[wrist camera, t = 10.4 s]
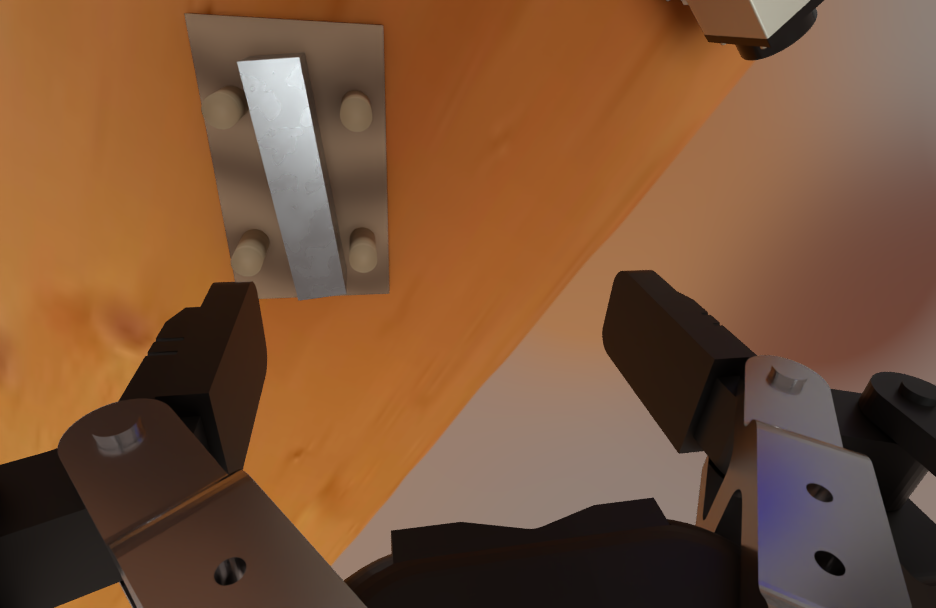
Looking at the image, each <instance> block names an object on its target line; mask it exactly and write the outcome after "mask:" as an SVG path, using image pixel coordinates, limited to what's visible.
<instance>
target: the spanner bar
mask: <svg viewBox="0 0 936 608" xmlns="http://www.w3.org/2000/svg"><path fill="white" fill-rule="evenodd" d="M237 64H238V68H239V72H240V76H241V80H242V83H243V87H244V91H245V95H246V99H247V103H248V107H249V111H250V114H251V118H252V122H253V126H254V130H255V134H256V138H257V142H258V146H259V149H260V153H261V157H262V161H263V165H264V169H265V173H266V177H267V180H268V184H269V188H270V192H271V196H272V200H273V204H274V208H275V211H276V215H277V219H278V223H279V227H280V231H281V235H282V239H283V243H284V246H285V250H286V254H287V258H288V262H289V266H290V270H291V274H292V277H293V281H294V285H295V289H296V293H297V297H298V300H306V299H313V298H321V297H328V296H335V295H343V294H346V292H347V267H346V262H345V257H344V252H343V247H342V242H341V236H340V231H339V226H338V221H337V216H336V211H335V206H334V200H333V195H332V190H331V185H330V180H329V175H328V169H327V164H326V159H325V154H324V149H323V144H322V139H321V133H320V128H319V123H318V118H317V113H316V108H315V102H314V97H313V92H312V87H311V82H310V77H309V71H308V66H307V61H306V56H305V52H303V53H289V54H275V55H261V56H249V57H246V58H244V59H242V60H240V61H237Z"/></svg>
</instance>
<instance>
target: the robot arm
mask: <svg viewBox="0 0 936 608" xmlns="http://www.w3.org/2000/svg"><path fill="white" fill-rule="evenodd" d="M602 335H603V336H602V337H603V344H604V348H605V350H606V352H607V354H608V355H609V357H610V358H611V360H612V361H613V362H614V364H615V365H616V367H617V368H618V369H619V371H620V372H621V374H622V375H623V376H624V378H625V379H626V381H627V382H628V383H629V385H630V386H631V388H632V389H633V390H634V392H635V393H636V395H637V396H638V397H639V399H640V400H641V402H642V403H643V404H644V406H645V407H646V408H647V410H648V411H649V413H650V414H651V415H652V417H653V418H654V420H655V421H656V422H657V424H658V425H659V427H660V428H661V429H662V431H663V432H664V434H665V435H666V436H667V438H668V439H669V440H670V442H671V443H672V445H673V446H674V447H675V449H676V450H677V452H678V453H689V452H699V451H705V453H706V454H707V457H706V460H705V463H704V465H703V467H702V473H701V482H700V490H699V499H698V507H697V516H696V525H692V524H688V523H683V522H679V521H675V520H669V519H666V518H665V516H664V514H663V513H662V511H661V509H660V507H659V506H658V504H657V502H656V501H655V499H654V498H647V499H639V500H631V501H623V502H615V503H607V504H601V505H600V504H599V505H593V506H591V507H589V508H586V509H584V510H581V511H579V512H576V513H574V514H571V515H569V516H567V517H564V518H562V519H560V520H557V521H555V522H552V523H550V524H547V525H545V526H543V527H540V528H536V529H523V528H513V527H504V526H495V525H485V524H476V523H466V522H456V523H449V524H441V525H433V526H425V527H417V528H409V529H402V530H393V531H391V551H392V554H390V555H387V556H385V557H382V558H380V559H378V560H376V561H374V562H372V563H370V564H369V565H367V566H365V567H363V568H361V569H360V570H358V571H357V572H355V573H354V574H352V575H351V576H350V577H348V578H347V579H345V580H344V581H343V580H342V579H341V578H340V577H339V575H338V574H337V573H336V572H335V571H334V570H333V569H332V567H331V566H330V565H329V564H328V563H327V562H326V561H325V560H324V558H323V557H322V556H321V555H320V554H319V553H318V552H317V551H316V550H315V548H314V547H313V546H312V545H311V544H310V543H309V542H308V541H307V539H306V538H305V537H304V536H303V535H302V534H301V533H300V532H299V530H298V529H297V528H296V527H295V526H294V525H293V524H292V523H291V522H290V520H289V519H288V518H287V517H286V516H285V515H284V514H283V513H282V511H281V510H280V509H279V508H278V507H277V506H276V505H275V504H274V502H273V501H272V500H271V499H270V498H269V497H268V496H267V495H266V494H265V492H264V491H263V490H262V489H261V488H260V487H259V486H258V485H257V483H256V482H255V481H254V480H253V479H252V478H251V477H250V476H249V475H248V474H247V473H246V472H245V471H243V466H244V462H245V458H246V454H247V450H248V446H249V442H250V437H251V433H252V429H253V425H254V421H255V417H256V413H257V409H258V404H259V400H260V396H261V392H262V388H263V384H264V380H265V376H266V370H267V348H266V341H265V335H264V329H263V323H262V317H261V311H260V305H259V299H258V293H257V289H256V285H255V283H254V282H253V281H250V282H217V283H213V284H212V285H211V287H210V289H209V291H208V293H207V295H206V297H205V299H204V301H203V303H202V305H201V307H189V308H184V309H183V310H182V311H180V312H179V313H178V314H176V315H175V316H173V317H172V318H171V319H169V320H168V321H167V322H166V323H165V324H164V326H163V328H162V329H161V331H160V333H159V334H158V336H157V338H156V342H154V343H153V344H152V346H151V348H150V349H149V351H148V356H145V358H144V359H143V361H142V363H141V364H140V366H139V368H138V369H137V371H136V373H135V374H134V376H133V378H132V379H131V381H130V383H129V384H128V386H127V388H126V390H125V391H124V393H123V395H122V396H121V398H120V400H119V401H118V402H115V403H111V404H109V405H106V406H103V407H101V408H99V409H96V410H94V411H92V412H90V413H89V414H87V415H85V416H83V417H82V418H81V419H79V420H78V421H76V422H75V423H74V424H73V425H72V426H71V427H69V429H68V430H67V431H66V432H65V433H64V434H63V436H62V438H61V439H60V441H59V444H58V448H57V449H54V450H51V451H48V452H45V453H41V454H38V455H34V456H30V457H27V458H23V459H20V460H16V461H12V462H9V463H5V464H2V465H0V608H54V607H57V606H59V605H62V604H64V603H67V602H69V601H72V600H74V599H77V598H80V597H82V596H85V595H87V594H90V593H92V592H95V591H97V590H100V589H102V588H105V587H107V586H110V585H112V584H115V583H117V582H119V584H120V585H121V587H122V589H123V591H124V593H125V595H126V597H127V599H128V601H129V603H130V604H131V606H132V608H936V524H935V523H934V522H933V521H932V520H931V519H930V518H929V517H928V516H927V515H926V514H924V513H923V512H922V511H921V510H920V509H919V508H918V507H917V506H916V505H915V504H914V503H913V502H912V501H911V500H910V499H909V496H910V495H911V493H912V492H913V491H914V489H915V488H916V487H917V485H918V484H919V483H920V481H921V480H922V479H923V477H924V476H925V475H926V473H927V472H928V471H930V472H931V473H932V474H933V475H934V476H936V386H935V385H933V384H931V383H929V382H926V381H924V380H922V379H919V378H916V377H913V376H909V375H906V374H901V373H895V372H880V373H876V374H875V375H873V376H872V378H871V379H870V381H869V383H868V384H867V386H866V388H865V390H864V391H863V393H856V392H849V391H842V390H835V389H830V387H829V385H828V384H827V382H826V381H825V380H824V379H823V378H822V377H821V376H820V375H818V374H817V373H816V372H814V371H813V370H811V369H809V368H807V367H806V366H804V365H802V364H800V363H797V362H795V361H792V360H789V359H786V358H781V357H778V356H770V355H759V356H757V355H756V354H755V353H754V352H752V351H751V350H750V349H749V348H748V347H747V346H745V345H744V344H743V343H742V342H741V341H740V340H739V339H738V338H736V337H735V336H734V335H733V334H732V333H731V332H730V331H728V330H727V329H726V328H725V327H724V326H722V325H721V326H720V323H719V322H718V321H717V320H716V319H715V318H714V317H713V316H711V315H708V312H707V311H705V309H703V308H702V307H701V306H700V305H699V304H698V303H696V302H695V301H694V300H693V299H691V298H689V297H687V296H685V295H683V294H681V293H679V292H677V291H676V290H675V289H673V288H672V287H671V286H670V285H669V284H668V283H667V282H666V281H665V280H663V279H662V278H661V277H660V276H659V275H658V274H657V273H656V272H654V271H652V270H639V271H620V272H619V273H618V274H617V275H616V277H615V279H614V282H613V286H612V291H611V295H610V299H609V303H608V308H607V312H606V316H605V321H604V325H603V331H602Z"/></svg>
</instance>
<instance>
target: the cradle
mask: <svg viewBox="0 0 936 608" xmlns="http://www.w3.org/2000/svg"><path fill="white" fill-rule="evenodd" d="M184 15H185V20H186V25H187V31H188V36H189V41H190V46H191V52H192V57H193V62H194V67H195V73H196V78H197V83H198V88H199V94H200V99H201V104H202V107H201V110H202V114H203V117H204V120H205V125H206V131H207V136H208V141H209V146H210V152H211V157H212V162H213V167H214V173H215V178H216V183H217V188H218V194H219V199H220V204H221V209H222V215H223V220H224V225H225V231H226V236H227V241H228V246H229V252H230V257H231V266H232V268H233V273H234V278H235V282H250V281H253V282H254V283H255V285H256V289H257V293H258V299H267V298H291V297H297V293H296V289H295V285H294V281H293V277H292V274H291V270H290V266H289V262H288V258H287V254H286V250H285V246H284V243H283V239H282V235H281V231H280V227H279V223H278V219H277V215H276V211H275V208H274V204H273V200H272V196H271V192H270V188H269V184H268V180H267V177H266V173H265V169H264V165H263V161H262V157H261V153H260V149H259V146H258V142H257V138H256V134H255V130H254V126H253V122H252V118H251V114H250V111H249V107H248V103H247V99H246V95H245V91H244V87H243V83H242V80H241V76H240V72H239V68H238V64H237V61H240V60H242V59H244V58H246V57H249V56H261V55H275V54H289V53H303V52H305V56H306V61H307V66H308V71H309V77H310V82H311V87H312V92H313V97H314V102H315V108H316V113H317V118H318V123H319V128H320V133H321V139H322V144H323V149H324V154H325V159H326V164H327V169H328V175H329V180H330V185H331V190H332V195H333V200H334V206H335V211H336V216H337V221H338V226H339V231H340V236H341V242H342V247H343V252H344V257H345V262H346V267H347V292H346V294H343V295H365V294H389V257H388V212H387V167H386V122H385V77H384V32H383V25H373V24H357V23H340V22H324V21H307V20H291V19H274V18H257V17H241V16H224V15H208V14H191V13H185V14H184ZM335 296H340V295H335Z"/></svg>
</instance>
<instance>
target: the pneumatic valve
mask: <svg viewBox="0 0 936 608" xmlns="http://www.w3.org/2000/svg"><path fill="white" fill-rule="evenodd" d="M666 1H669V0H666ZM681 1H682V3H683V5H689V7H690V9H691V10H692V12H693V14H694V16H695V18H696V20H697V22H698V24H699V25H700V27H701V29H702V31H703V33H704V35H705V37H706V39H707V40H708V42H714V43H721V45H725V44H735V45H736V47H737V49H738V51H739V53H740V55H741V57H742V58H743V59H745V60H759V59H763V58H766V57H769V56H772V55H774V54H776V53H778V52H780V51H782V50H784V49H785V48H787V47H789V46H790V45H792V44H793V43H795V42H796V41H797V40H799V39H800V38H801V37H802V36H803V35H804V34H806V32H807V31H808V30H809V29H810V28H811V27H812V25H813V24H814V22H815V21H816V18H817V10H816V7H817V6H818V5H819V4H821V3H822V2H823V1H824V0H681Z"/></svg>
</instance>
